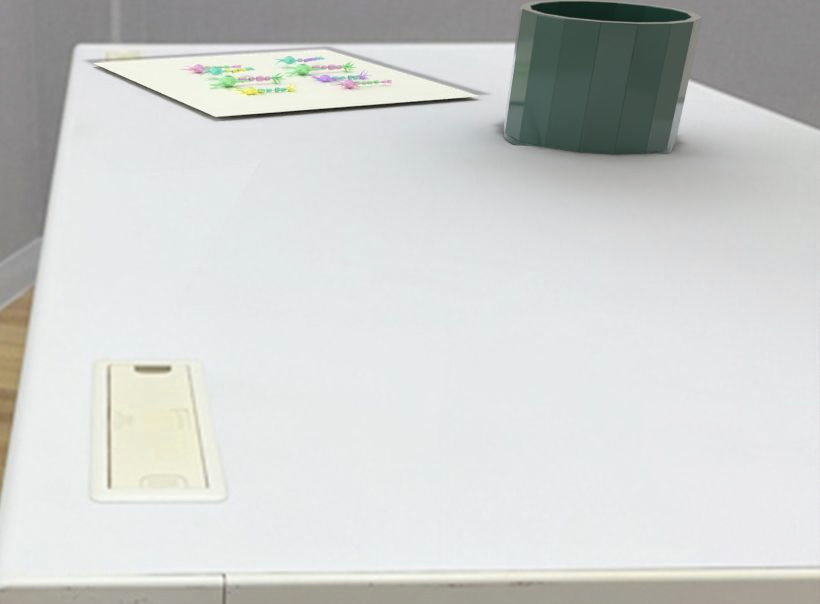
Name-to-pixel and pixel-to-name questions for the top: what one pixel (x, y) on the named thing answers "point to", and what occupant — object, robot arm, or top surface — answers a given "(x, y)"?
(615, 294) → the top surface
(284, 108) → the printed paper
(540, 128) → the tin
